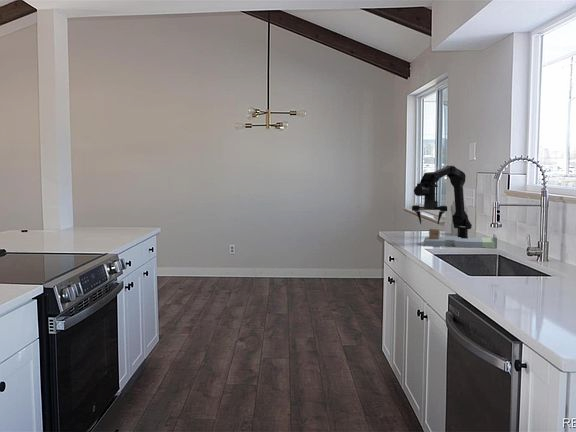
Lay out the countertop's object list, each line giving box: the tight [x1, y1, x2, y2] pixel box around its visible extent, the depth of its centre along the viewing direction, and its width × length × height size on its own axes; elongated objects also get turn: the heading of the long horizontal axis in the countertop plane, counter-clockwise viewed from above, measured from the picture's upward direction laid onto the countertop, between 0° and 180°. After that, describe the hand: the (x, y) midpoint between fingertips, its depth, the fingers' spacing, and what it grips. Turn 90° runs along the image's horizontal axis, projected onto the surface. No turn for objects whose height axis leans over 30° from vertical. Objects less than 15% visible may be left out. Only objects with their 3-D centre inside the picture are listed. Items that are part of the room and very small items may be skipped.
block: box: [428, 228, 440, 239], centre depth 300 cm, size 5×5×5 cm
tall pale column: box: [450, 200, 470, 237], centre depth 335 cm, size 11×4×22 cm, turn 75°
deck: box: [423, 233, 498, 249], centre depth 296 cm, size 18×37×5 cm, turn 72°
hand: (429, 223), depth 299 cm, fingers open, 9 cm apart
